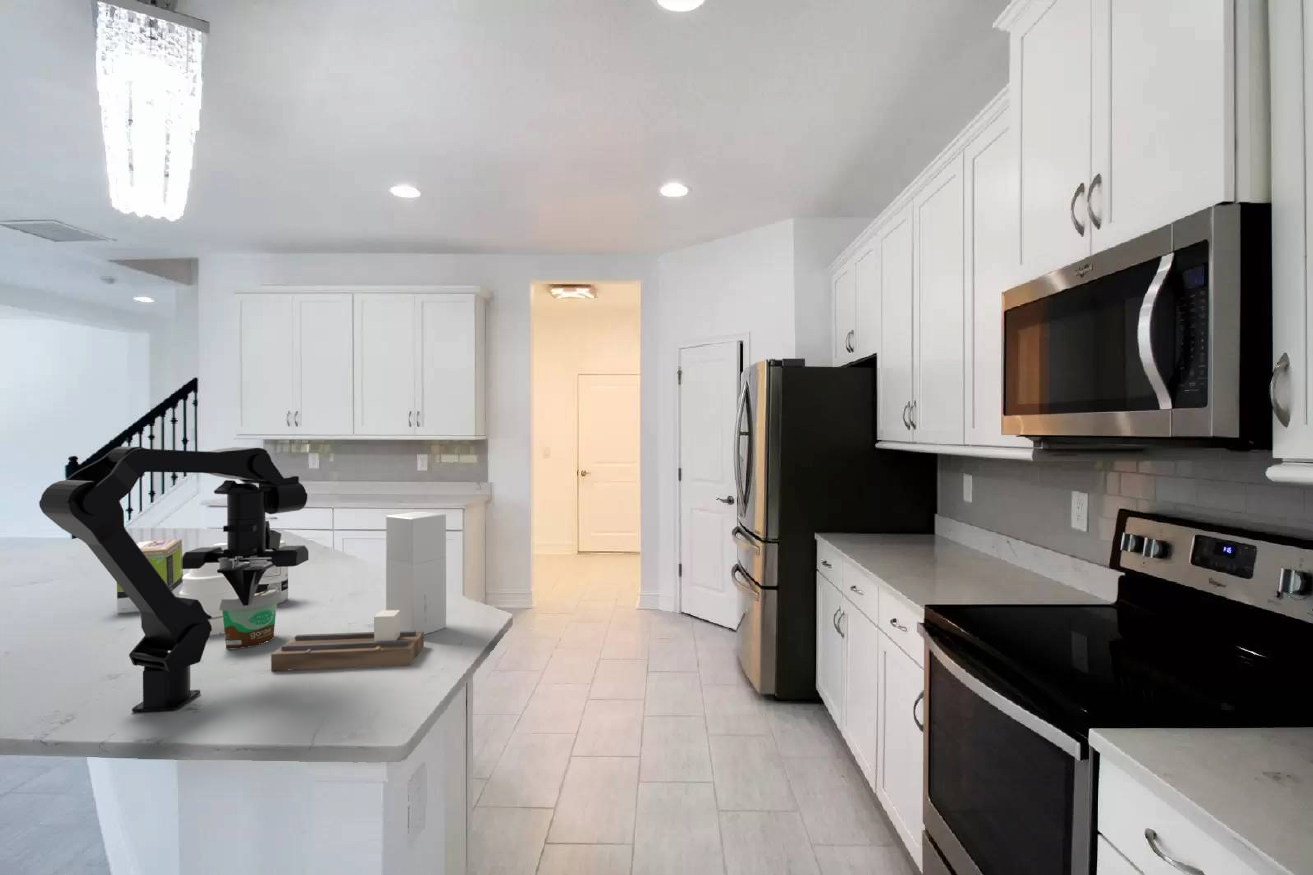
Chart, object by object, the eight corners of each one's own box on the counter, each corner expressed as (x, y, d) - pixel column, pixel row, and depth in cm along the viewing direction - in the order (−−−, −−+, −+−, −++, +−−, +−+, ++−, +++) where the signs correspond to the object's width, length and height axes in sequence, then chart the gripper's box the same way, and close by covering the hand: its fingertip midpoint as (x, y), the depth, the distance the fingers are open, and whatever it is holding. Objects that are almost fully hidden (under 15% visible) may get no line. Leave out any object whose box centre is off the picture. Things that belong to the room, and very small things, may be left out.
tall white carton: (412, 639, 130) (412, 518, 130) (385, 632, 135) (385, 515, 134) (446, 627, 138) (446, 513, 137) (420, 621, 142) (419, 511, 142)
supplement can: (241, 605, 155) (241, 544, 154) (270, 596, 163) (270, 538, 162) (267, 608, 152) (266, 546, 152) (295, 599, 160) (295, 540, 160)
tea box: (136, 598, 161) (136, 540, 160) (184, 594, 165) (184, 538, 165) (115, 614, 147) (114, 551, 147) (168, 609, 151) (168, 547, 151)
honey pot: (234, 615, 146) (233, 538, 146) (254, 626, 138) (253, 544, 138) (165, 628, 136) (165, 546, 136) (183, 641, 128) (182, 553, 128)
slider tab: (394, 642, 118) (394, 616, 118) (374, 643, 118) (374, 616, 118) (400, 635, 122) (400, 610, 122) (380, 636, 122) (380, 610, 122)
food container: (246, 653, 122) (245, 601, 121) (219, 651, 123) (219, 600, 123) (294, 633, 134) (294, 586, 134) (270, 631, 135) (269, 584, 135)
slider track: (410, 665, 116) (410, 644, 116) (271, 671, 113) (271, 650, 113) (423, 646, 126) (423, 627, 126) (295, 651, 123) (295, 632, 123)
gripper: (320, 511, 121) (320, 591, 121) (215, 512, 119) (216, 594, 119) (294, 519, 110) (295, 608, 110) (178, 521, 108) (179, 611, 108)
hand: (247, 605), depth 112 cm, fingers closed
